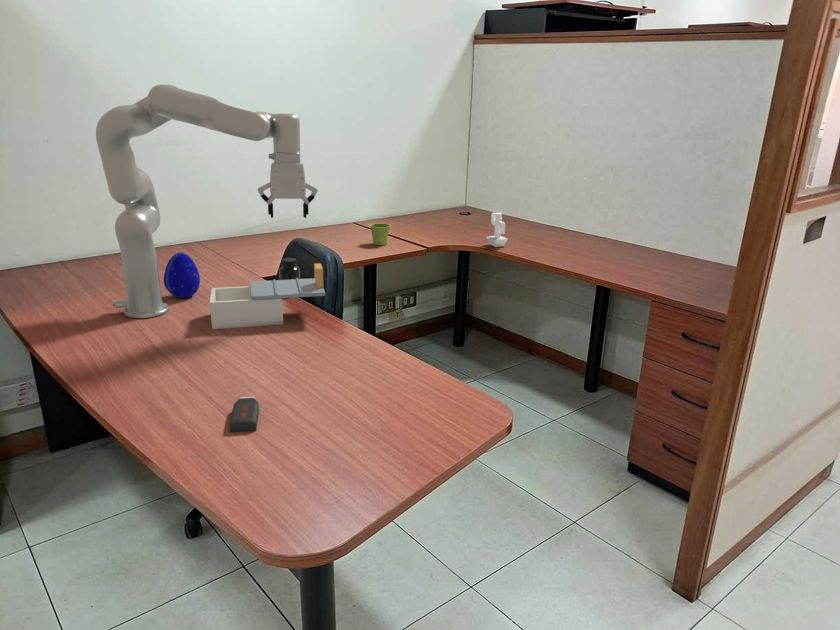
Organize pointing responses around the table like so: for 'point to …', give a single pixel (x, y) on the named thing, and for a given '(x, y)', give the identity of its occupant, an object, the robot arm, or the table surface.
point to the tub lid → (289, 287)
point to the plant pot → (380, 233)
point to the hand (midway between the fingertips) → (288, 217)
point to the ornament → (181, 276)
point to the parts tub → (243, 309)
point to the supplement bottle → (289, 269)
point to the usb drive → (244, 415)
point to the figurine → (497, 231)
